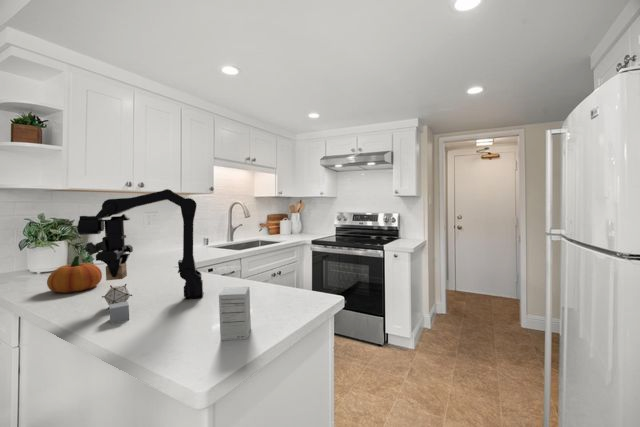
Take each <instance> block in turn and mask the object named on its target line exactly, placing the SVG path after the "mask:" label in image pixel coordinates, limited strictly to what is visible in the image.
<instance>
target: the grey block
mask: <svg viewBox="0 0 640 427" xmlns="http://www.w3.org/2000/svg"><path fill="white" fill-rule="evenodd" d="M108 307H109V322H110V325H113V324H117V323H122V322H126V321H130V304H129V302H128V300H127V301H126V302H121V303H115V304H110V305H108Z"/></svg>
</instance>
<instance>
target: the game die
mask: <svg viewBox="0 0 640 427" xmlns="http://www.w3.org/2000/svg"><path fill="white" fill-rule="evenodd" d="M109 287H110V288H109V289H108V290H107V291H106V293H105V295H104V296H103V295H102V296H101V298H104V300H105V301H106V302H107V305H108V307H107V309H109V305H110V304H115V303H121V302H126V301H127V302H128V300H129V298H130V297H132V296H133V294H130V292H129V290H128V288H127V283H125V284H124V285H119V286H117V285H116V286H112V285H111V284H110V286H109Z"/></svg>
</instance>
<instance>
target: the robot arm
mask: <svg viewBox="0 0 640 427" xmlns="http://www.w3.org/2000/svg"><path fill="white" fill-rule="evenodd" d="M163 201H169V202H171V203H173V204H175V205H176V206H177V207H180V212H181V216H182V220H183V221H182V223H183V225H182V226H183V233H182V234H183V240H182V242H183V245H182V251H183V252H182V255H183V256H182V259H179V260H178V261H177V266H178V270H177V273H178V274H179V276H180V278H181V279H182V280H184V281H185V282H184V286H183V297H184V300H192V299H195V300H196V299H201V298H203V296H204V288H203V283H204V282H203V279H202V272H200V271H199V270H197V267H196V266H197V265H196V262H195V257H194V222H195V221H194V220H195V216H196V212H197V201H195V200H194V199H193V198H191V197H190V198H189V197H188V198H187V197H186V198H185V197H183V196H181V195H179V194H177V193H176V192H174V191H173V190H171V189H168V188H167V189H163V190H160V191H155V192H152V193H151V192H150V193H147V194H142V195H138V196H134V197H125V198H124V197H121V198H108V199H106V200H105V201H104V202H102V205H101V209H100V211H98V213H97V214H96V215H89V216H88V215H79V220H78V221H77V226H76V229H77V233H78V235H80V236H86V235H87V236H88V235H100V234H101V232H104V236H103V237H102V241H100V242H97V243H96V242H94V241H91V242H88V243H86V245H85V253H88V254H89V256H92V255H94V254H95V261H100V262H102V263H105V264H106V266H108V268H109V270H110V273H111V275H112V277H116V276H117V273H118V270H119V267H120V264H121V263H126V264H127V261H128V259H129V256H130V255H131V253H132V252H133V251H134V249H133V246H132V245H131V244H125V243H126V242H125V239H126V238H127V235H126V234H125V226H124V225H125V224H124V223H125V221H126V222H127V221H130V219H131V218H130V217H129V216H127V215H126V214H125V212H128V211H130V210H132V209H134V208H138V207H141V206H146V205H149V204H154V203H158V202H163ZM122 213H123V214H122ZM120 214H122V215H121V216H120ZM114 215H115V216H114ZM116 215H119V216H116ZM106 218H110V219H106Z"/></svg>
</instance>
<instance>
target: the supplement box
mask: <svg viewBox="0 0 640 427" xmlns="http://www.w3.org/2000/svg"><path fill="white" fill-rule="evenodd" d="M250 292H251V291H250V286H231V287H224V288H223V290H222V291H221V292H220V293H219V295H218V303H219V304H218V307H219V308H218V309H219V311H218V312H219V330H220V331H219V334H220V337H219V338H220V341H237V340H247V339H248V338H249V335H250V333H251V329H252V325H251V324H252V323H251V321H252V320H251V295H250Z"/></svg>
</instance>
